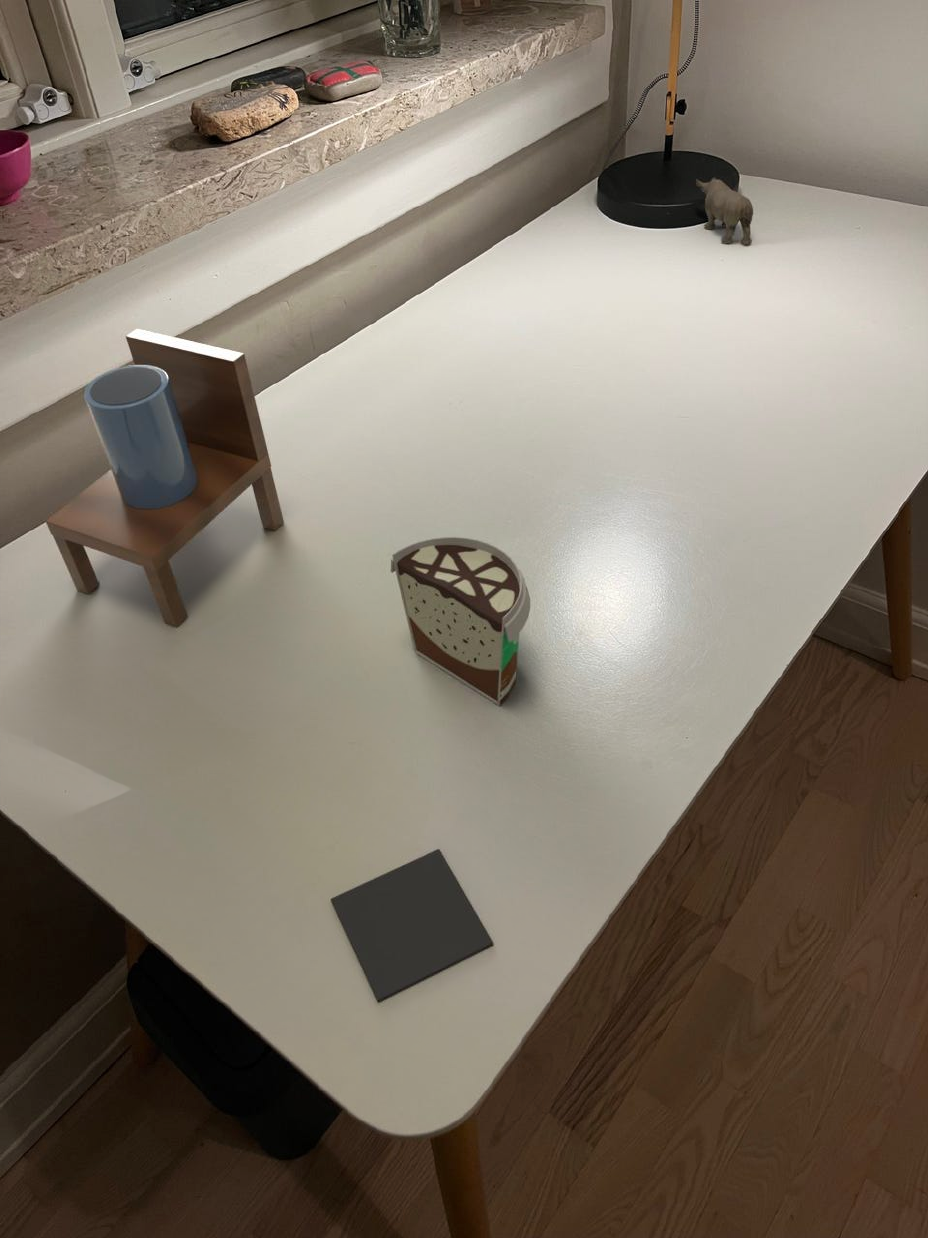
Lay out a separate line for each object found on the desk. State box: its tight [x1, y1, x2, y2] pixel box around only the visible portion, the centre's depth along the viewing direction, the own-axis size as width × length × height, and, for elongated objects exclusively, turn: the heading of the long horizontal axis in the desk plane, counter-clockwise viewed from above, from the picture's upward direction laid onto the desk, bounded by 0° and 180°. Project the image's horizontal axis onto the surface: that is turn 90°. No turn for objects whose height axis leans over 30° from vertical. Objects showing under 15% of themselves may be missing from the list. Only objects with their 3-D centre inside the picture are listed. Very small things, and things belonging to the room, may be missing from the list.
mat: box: [330, 848, 494, 1003], centre depth 67 cm, size 8×8×1 cm
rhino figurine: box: [695, 177, 754, 246], centre depth 137 cm, size 4×14×6 cm, turn 18°
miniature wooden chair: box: [45, 328, 285, 628], centre depth 90 cm, size 16×12×18 cm
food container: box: [390, 536, 531, 707], centre depth 80 cm, size 12×6×10 cm, turn 47°
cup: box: [83, 364, 198, 509], centre depth 87 cm, size 7×7×10 cm
